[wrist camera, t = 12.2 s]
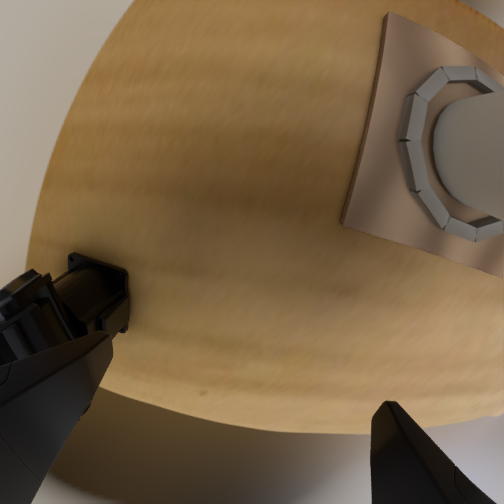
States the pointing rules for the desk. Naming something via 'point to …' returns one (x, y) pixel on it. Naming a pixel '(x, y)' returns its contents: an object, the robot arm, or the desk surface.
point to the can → (473, 151)
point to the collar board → (383, 161)
